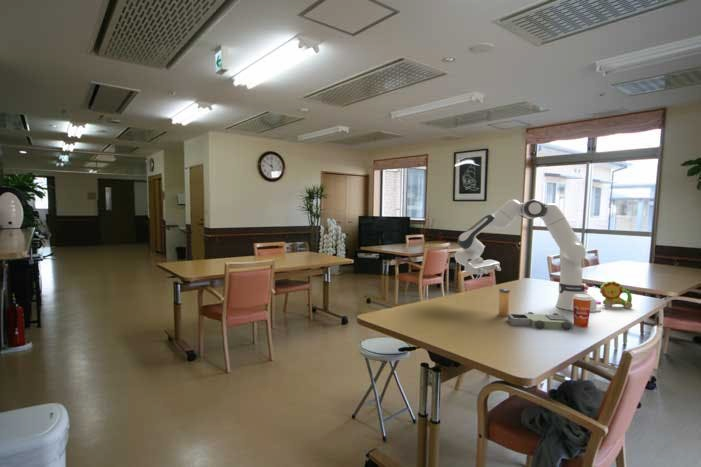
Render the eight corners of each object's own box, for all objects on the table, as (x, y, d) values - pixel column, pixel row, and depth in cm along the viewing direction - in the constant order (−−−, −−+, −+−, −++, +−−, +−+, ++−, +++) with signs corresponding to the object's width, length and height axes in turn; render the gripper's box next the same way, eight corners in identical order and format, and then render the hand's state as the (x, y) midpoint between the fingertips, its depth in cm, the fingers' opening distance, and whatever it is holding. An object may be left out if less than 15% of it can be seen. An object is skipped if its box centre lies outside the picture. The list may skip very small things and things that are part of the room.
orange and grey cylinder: (507, 314, 211) (508, 288, 210) (509, 316, 206) (510, 290, 205) (497, 313, 212) (498, 288, 211) (499, 316, 207) (500, 290, 206)
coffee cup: (571, 326, 190) (573, 296, 189) (570, 322, 197) (572, 293, 196) (591, 329, 186) (593, 298, 185) (590, 324, 193) (591, 295, 192)
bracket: (576, 300, 245) (576, 289, 244) (580, 299, 248) (581, 288, 247) (597, 304, 234) (598, 293, 233) (602, 303, 237) (603, 292, 236)
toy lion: (628, 306, 229) (630, 281, 228) (632, 309, 224) (633, 283, 223) (598, 304, 234) (599, 279, 233) (600, 306, 229) (602, 281, 228)
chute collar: (526, 321, 198) (526, 314, 198) (531, 326, 189) (531, 319, 189) (507, 320, 200) (507, 313, 199) (512, 325, 191) (512, 318, 190)
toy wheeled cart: (561, 321, 199) (561, 313, 198) (573, 330, 183) (574, 322, 183) (524, 319, 201) (524, 311, 201) (533, 328, 186) (533, 320, 186)
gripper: (488, 265, 234) (506, 272, 222) (462, 271, 226) (479, 279, 214) (489, 255, 232) (507, 262, 220) (463, 261, 224) (480, 268, 212)
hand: (493, 271), depth 217 cm, fingers open, 8 cm apart
